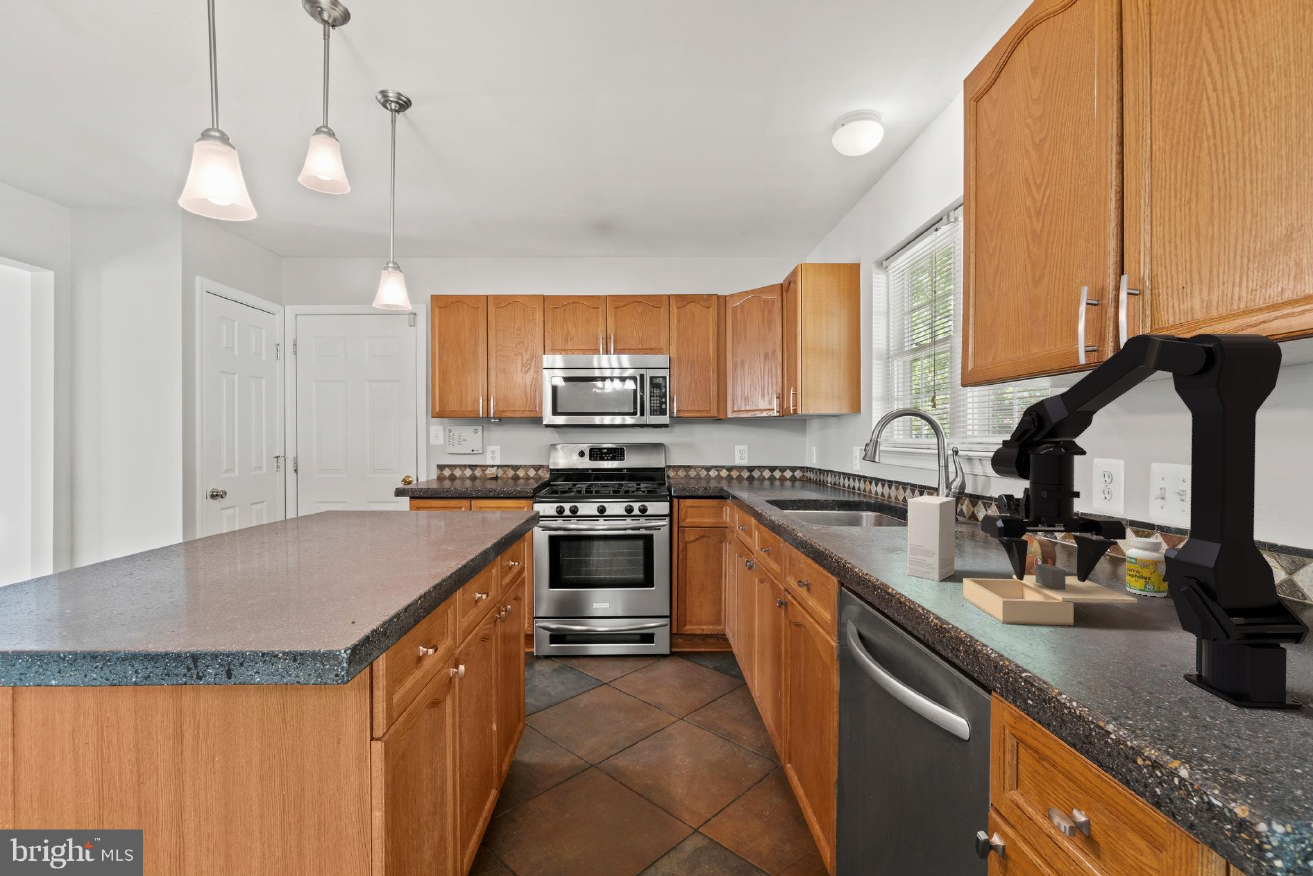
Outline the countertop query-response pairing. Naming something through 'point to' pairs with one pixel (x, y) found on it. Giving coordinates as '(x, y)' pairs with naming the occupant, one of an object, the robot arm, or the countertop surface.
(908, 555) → the skincare box
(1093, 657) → the countertop surface
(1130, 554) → the supplement bottle
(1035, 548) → the tin
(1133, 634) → the countertop surface
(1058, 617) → the carton
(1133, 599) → the carton lid
